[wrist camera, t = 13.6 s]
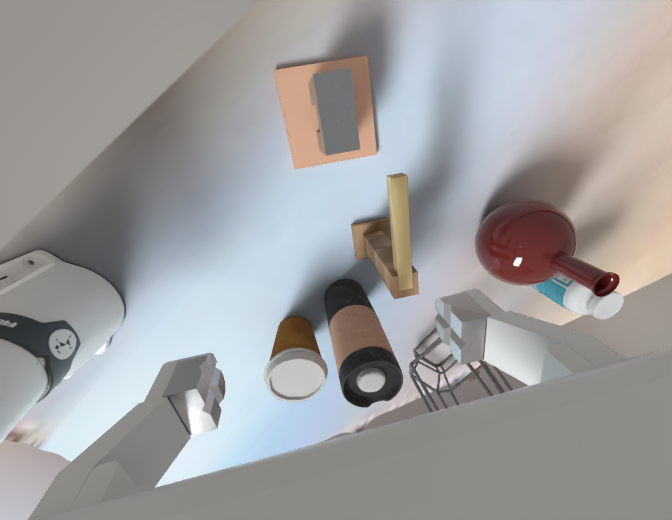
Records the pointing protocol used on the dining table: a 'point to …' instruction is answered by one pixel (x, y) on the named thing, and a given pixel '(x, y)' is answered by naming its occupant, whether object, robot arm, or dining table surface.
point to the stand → (377, 242)
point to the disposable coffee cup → (295, 362)
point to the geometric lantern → (474, 372)
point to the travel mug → (360, 346)
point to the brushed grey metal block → (335, 111)
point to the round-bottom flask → (535, 247)
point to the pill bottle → (580, 298)
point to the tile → (304, 114)
